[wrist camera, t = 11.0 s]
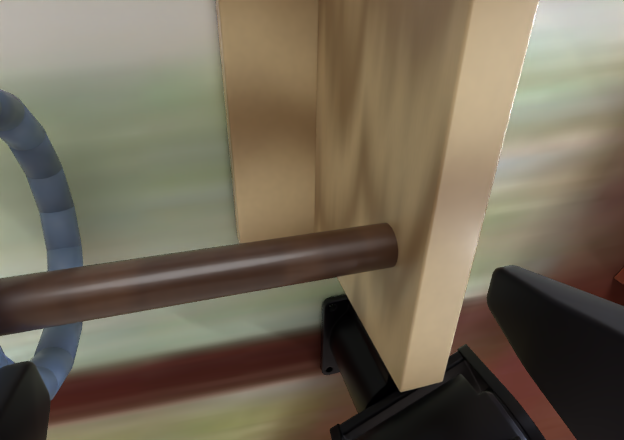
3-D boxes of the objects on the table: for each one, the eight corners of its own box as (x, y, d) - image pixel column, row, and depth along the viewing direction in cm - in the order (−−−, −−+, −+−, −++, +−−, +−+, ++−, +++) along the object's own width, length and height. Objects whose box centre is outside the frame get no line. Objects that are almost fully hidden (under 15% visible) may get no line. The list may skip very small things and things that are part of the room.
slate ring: (99, 275, 19) (51, 485, 11) (70, 279, 19) (-1, 498, 11) (32, 55, 14) (-133, 153, 6) (-8, 56, 14) (-234, 160, 6)
